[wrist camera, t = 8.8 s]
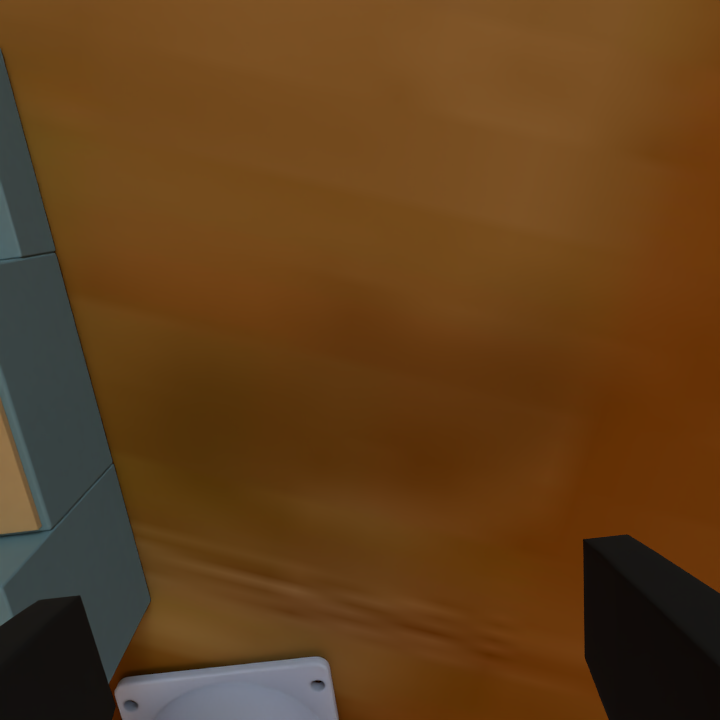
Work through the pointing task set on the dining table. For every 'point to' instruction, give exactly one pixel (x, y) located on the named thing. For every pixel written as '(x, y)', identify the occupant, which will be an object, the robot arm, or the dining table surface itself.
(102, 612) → the step rack
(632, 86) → the dining table surface
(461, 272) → the dining table surface
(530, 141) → the dining table surface
